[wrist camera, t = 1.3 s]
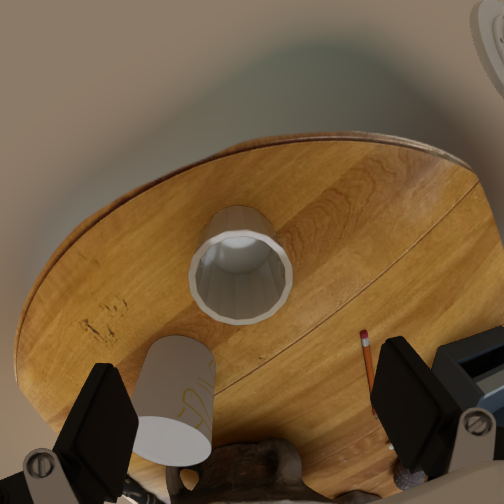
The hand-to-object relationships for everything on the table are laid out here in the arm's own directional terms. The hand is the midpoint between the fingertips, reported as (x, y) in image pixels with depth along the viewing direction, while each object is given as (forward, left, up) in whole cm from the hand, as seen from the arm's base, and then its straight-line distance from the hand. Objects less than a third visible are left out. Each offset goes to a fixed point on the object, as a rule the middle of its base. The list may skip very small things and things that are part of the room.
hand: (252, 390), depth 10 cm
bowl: (+2, +38, -20) cm, 43 cm away
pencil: (-16, +22, -20) cm, 34 cm away
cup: (+8, +15, -20) cm, 26 cm away
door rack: (-34, +24, -20) cm, 46 cm away
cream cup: (0, +1, -20) cm, 20 cm away
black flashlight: (+25, +53, -20) cm, 62 cm away
